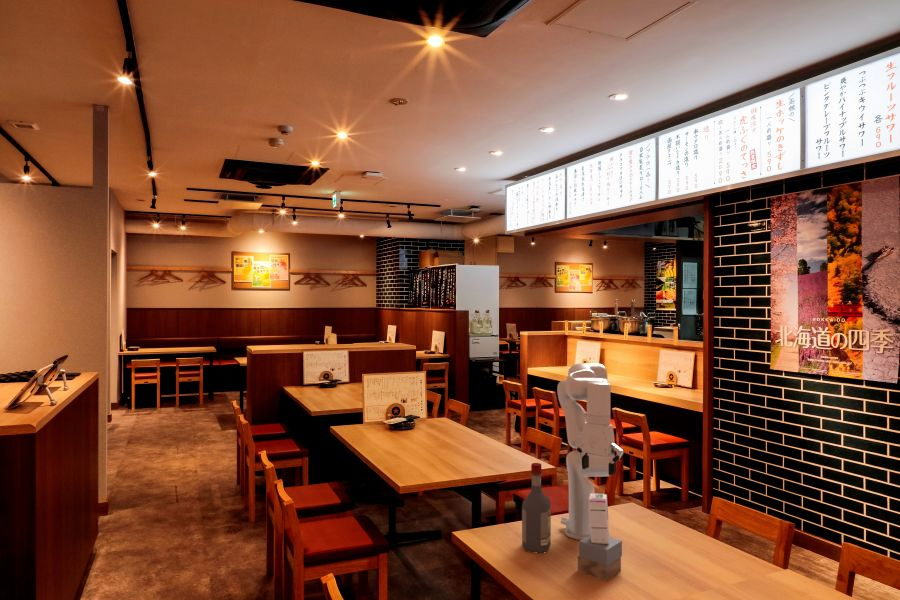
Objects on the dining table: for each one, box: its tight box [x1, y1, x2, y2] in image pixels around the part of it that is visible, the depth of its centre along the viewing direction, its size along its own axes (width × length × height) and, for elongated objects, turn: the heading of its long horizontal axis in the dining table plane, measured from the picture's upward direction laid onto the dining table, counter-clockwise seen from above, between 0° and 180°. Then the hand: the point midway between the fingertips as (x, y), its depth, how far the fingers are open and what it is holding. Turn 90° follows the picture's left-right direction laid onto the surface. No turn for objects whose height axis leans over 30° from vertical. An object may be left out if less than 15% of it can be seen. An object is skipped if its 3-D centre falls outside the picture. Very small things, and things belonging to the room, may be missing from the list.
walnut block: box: [577, 555, 622, 582], centre depth 190 cm, size 10×10×5 cm
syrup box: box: [589, 492, 610, 544], centre depth 191 cm, size 6×6×14 cm
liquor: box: [521, 462, 552, 554], centre depth 208 cm, size 9×9×30 cm
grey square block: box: [578, 535, 623, 566], centre depth 190 cm, size 10×10×5 cm
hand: (598, 471), depth 191 cm, fingers open, 9 cm apart
